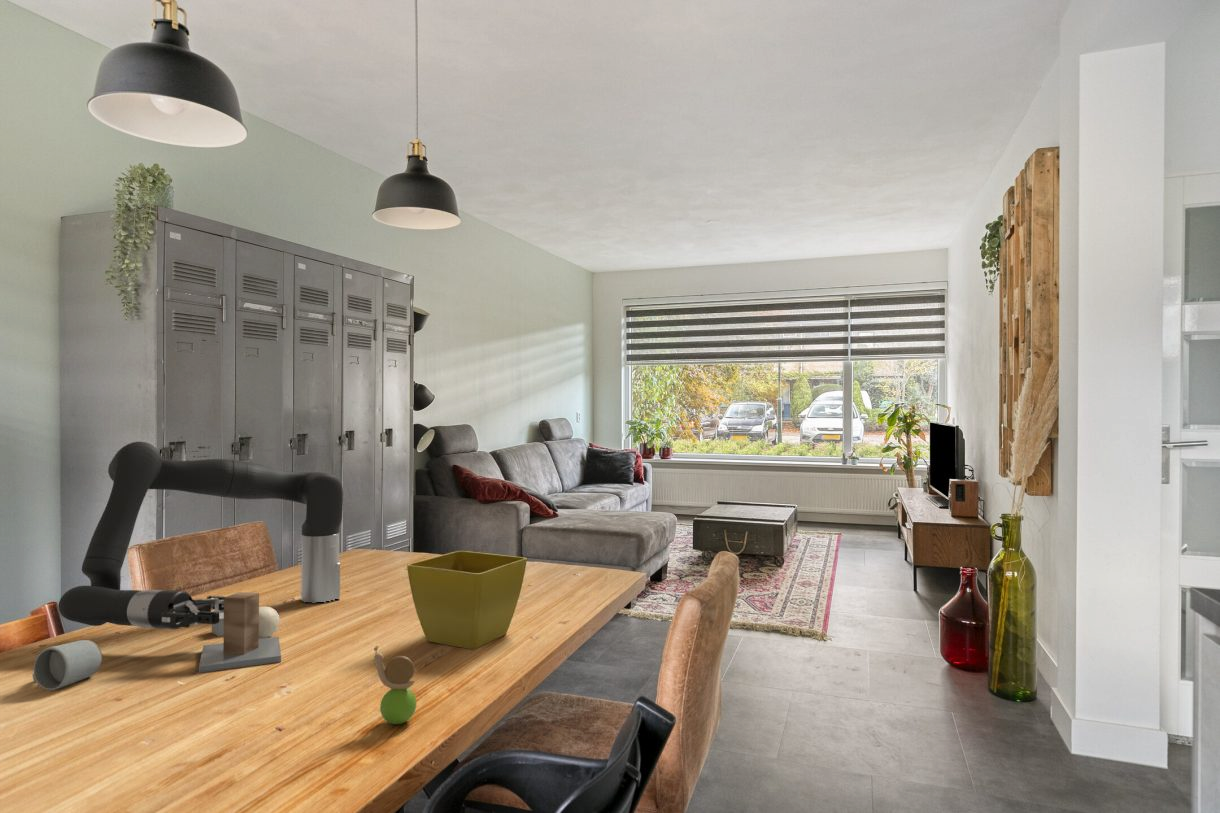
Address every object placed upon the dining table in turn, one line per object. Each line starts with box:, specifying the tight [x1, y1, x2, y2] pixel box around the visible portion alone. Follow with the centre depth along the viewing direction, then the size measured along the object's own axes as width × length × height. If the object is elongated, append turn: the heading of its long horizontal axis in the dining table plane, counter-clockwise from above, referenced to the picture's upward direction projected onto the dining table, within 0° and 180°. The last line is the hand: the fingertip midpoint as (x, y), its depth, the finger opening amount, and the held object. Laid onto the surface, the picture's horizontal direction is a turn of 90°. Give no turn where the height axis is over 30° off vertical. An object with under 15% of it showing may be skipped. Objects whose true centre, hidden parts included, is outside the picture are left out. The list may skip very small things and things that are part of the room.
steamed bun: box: [259, 606, 281, 639], centre depth 157 cm, size 7×7×7 cm
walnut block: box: [222, 591, 260, 655], centre depth 145 cm, size 4×4×11 cm
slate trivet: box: [198, 636, 282, 674], centre depth 145 cm, size 14×14×1 cm
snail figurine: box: [373, 645, 417, 725], centre depth 113 cm, size 5×6×12 cm
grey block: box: [211, 613, 224, 638], centre depth 161 cm, size 5×5×4 cm
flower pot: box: [406, 550, 527, 650], centre depth 157 cm, size 19×19×17 cm
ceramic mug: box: [32, 639, 103, 691], centre depth 131 cm, size 10×8×7 cm
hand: (232, 612), depth 145 cm, fingers open, 8 cm apart
